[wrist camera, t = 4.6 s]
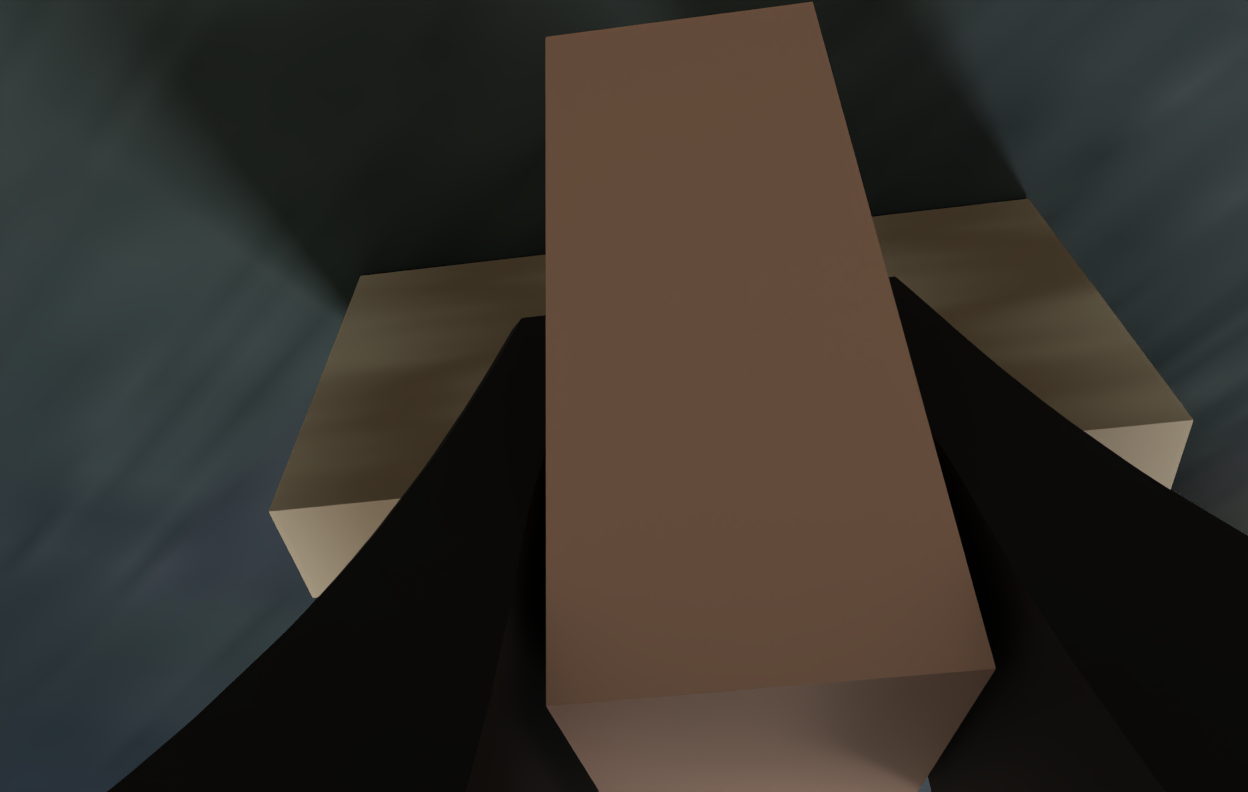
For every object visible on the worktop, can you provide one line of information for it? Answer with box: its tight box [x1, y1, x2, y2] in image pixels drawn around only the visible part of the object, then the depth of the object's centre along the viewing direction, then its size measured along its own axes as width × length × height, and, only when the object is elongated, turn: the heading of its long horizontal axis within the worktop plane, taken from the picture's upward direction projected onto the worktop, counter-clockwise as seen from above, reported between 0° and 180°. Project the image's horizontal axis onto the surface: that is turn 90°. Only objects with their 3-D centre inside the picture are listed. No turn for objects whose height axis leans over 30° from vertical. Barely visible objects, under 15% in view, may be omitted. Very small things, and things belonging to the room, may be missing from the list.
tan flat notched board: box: [545, 2, 996, 792], centre depth 12 cm, size 12×2×6 cm, turn 7°
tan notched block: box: [269, 199, 1193, 598], centre depth 15 cm, size 12×2×6 cm, turn 97°
